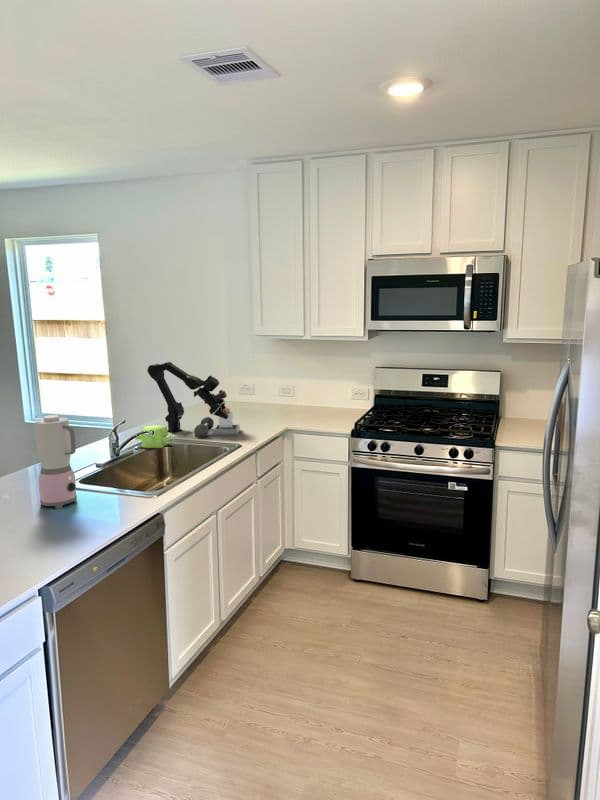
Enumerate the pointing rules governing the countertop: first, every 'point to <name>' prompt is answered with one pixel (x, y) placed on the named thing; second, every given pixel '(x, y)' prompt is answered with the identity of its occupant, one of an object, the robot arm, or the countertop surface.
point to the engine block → (226, 420)
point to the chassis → (214, 429)
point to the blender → (55, 461)
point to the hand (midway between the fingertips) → (228, 416)
